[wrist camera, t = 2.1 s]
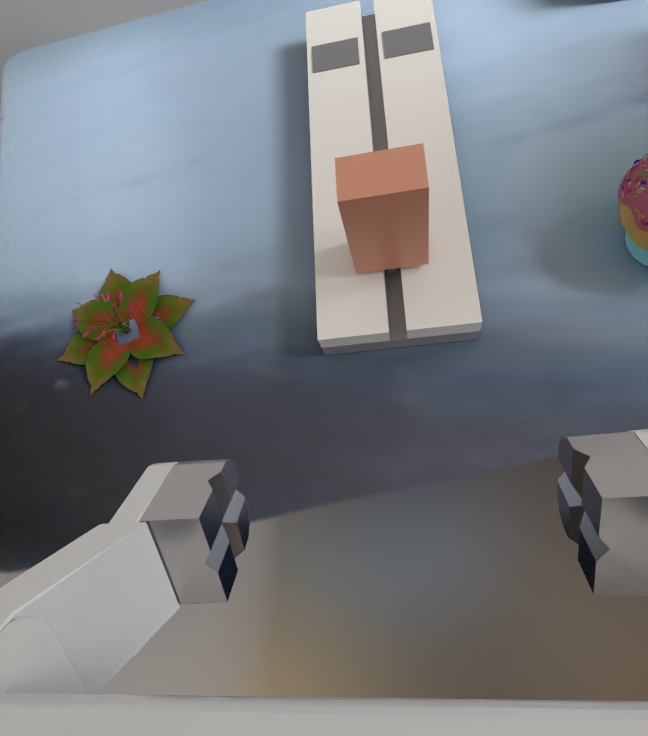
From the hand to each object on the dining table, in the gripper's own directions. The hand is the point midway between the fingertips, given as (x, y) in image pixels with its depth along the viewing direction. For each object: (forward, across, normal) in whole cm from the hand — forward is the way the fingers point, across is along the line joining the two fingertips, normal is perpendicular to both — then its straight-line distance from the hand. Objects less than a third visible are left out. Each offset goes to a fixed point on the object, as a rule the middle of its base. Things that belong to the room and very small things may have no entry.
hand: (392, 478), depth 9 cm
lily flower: (+30, +22, +7) cm, 38 cm away
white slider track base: (+38, 0, -2) cm, 38 cm away
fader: (+30, 0, +4) cm, 30 cm away
